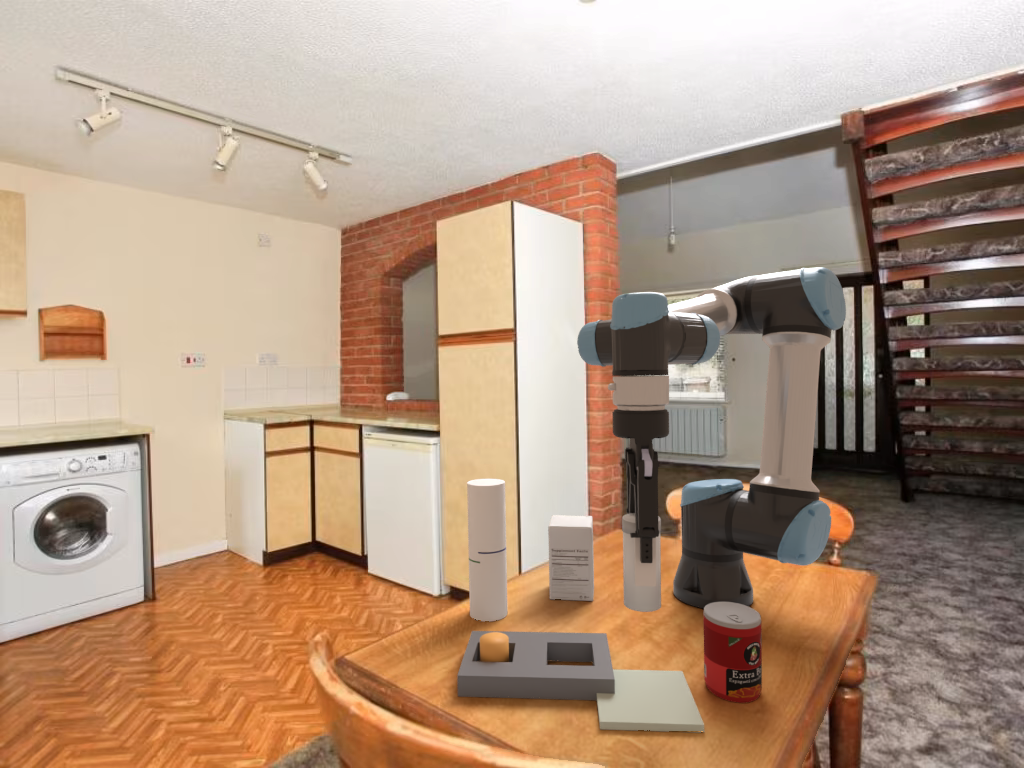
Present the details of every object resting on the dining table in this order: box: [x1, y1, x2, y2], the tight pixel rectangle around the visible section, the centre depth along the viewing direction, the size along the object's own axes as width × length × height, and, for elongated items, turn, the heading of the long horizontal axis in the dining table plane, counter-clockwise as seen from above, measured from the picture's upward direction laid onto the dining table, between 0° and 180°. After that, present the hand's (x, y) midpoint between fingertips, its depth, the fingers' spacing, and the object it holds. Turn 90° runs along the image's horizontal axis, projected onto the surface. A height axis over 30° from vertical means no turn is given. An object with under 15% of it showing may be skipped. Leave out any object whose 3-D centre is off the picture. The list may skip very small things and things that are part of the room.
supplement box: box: [547, 514, 595, 602], centre depth 119 cm, size 9×9×15 cm
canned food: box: [702, 602, 763, 704], centre depth 82 cm, size 8×8×11 cm
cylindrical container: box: [466, 478, 508, 622], centre depth 109 cm, size 7×7×25 cm
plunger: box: [479, 632, 509, 662], centre depth 88 cm, size 4×4×4 cm
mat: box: [596, 668, 705, 733], centre depth 80 cm, size 13×13×1 cm
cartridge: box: [621, 513, 662, 613], centre depth 79 cm, size 5×5×12 cm
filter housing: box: [456, 630, 615, 701], centre depth 88 cm, size 22×14×3 cm, turn 85°
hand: (642, 576), depth 79 cm, fingers closed on cartridge, 5 cm apart
